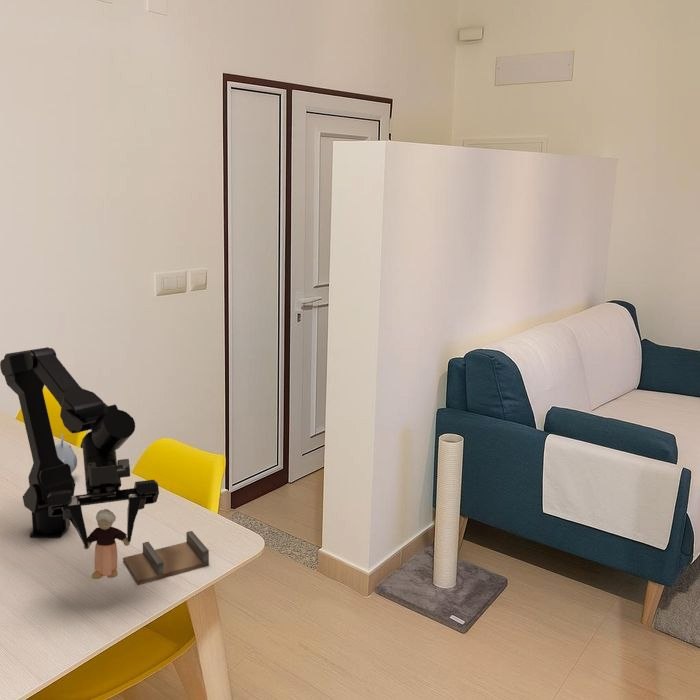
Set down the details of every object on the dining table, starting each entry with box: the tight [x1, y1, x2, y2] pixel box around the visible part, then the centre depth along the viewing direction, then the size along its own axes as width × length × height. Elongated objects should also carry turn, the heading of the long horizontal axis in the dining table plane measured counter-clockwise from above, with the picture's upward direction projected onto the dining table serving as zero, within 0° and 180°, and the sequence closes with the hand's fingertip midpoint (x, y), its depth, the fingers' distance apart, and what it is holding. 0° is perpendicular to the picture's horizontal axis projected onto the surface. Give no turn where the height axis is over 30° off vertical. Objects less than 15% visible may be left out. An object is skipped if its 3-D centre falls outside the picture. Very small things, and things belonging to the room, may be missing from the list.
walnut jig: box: [122, 530, 210, 585], centre depth 145 cm, size 14×10×3 cm
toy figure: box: [55, 433, 78, 474], centre depth 178 cm, size 11×6×12 cm, turn 19°
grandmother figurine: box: [83, 508, 131, 580], centre depth 128 cm, size 8×4×13 cm, turn 113°
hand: (108, 544), depth 127 cm, fingers closed on grandmother figurine, 7 cm apart
